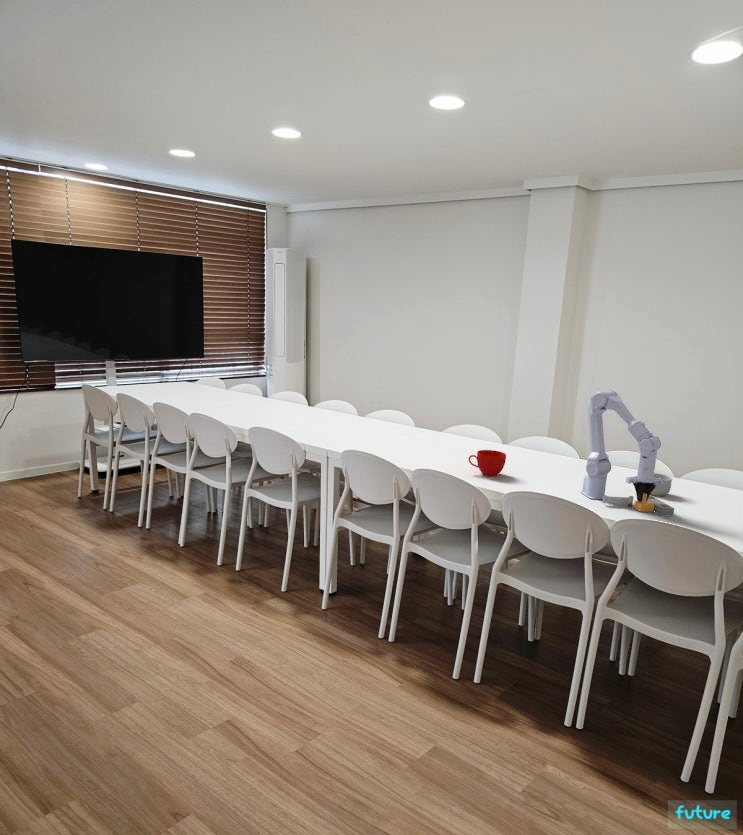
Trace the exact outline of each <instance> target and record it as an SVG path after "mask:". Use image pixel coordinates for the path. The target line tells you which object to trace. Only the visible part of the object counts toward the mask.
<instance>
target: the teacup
mask: <svg viewBox="0 0 743 835" xmlns="http://www.w3.org/2000/svg"><path fill="white" fill-rule="evenodd" d="M654 477H655V478H662V479H664V481H663V484H660V483H654V485H656V487H655V489H654V490H653V491H652V492H651V494H650V495H651V496H654V495H655V497H664V496H666V495H668V494H669V493H670V491H671V488H672V480H673V477H671V476H669V475H667V474H664V473H659V472H658V473H656V472H654Z"/></svg>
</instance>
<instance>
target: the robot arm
mask: <svg viewBox="0 0 743 835" xmlns="http://www.w3.org/2000/svg"><path fill="white" fill-rule="evenodd" d="M607 410H611V411H615V413H616V414H617V415H618V416H619V417H620V418H621V419H622V421H624V422H625V423H626V424H627V430H628V432H629V433H630V434H631V436H632V437H634V439H635V440H636V442H638V448H639V451H640V453H639V454H640V455H639V462H638V467H637V468H638V470H637V476H631V477H630V476H629V477H625V478H626V479H625V483H626V484H628V485H629V484H633V487H634V489H635V493H636V494H635V495H636V501H639V502H642V498H643V493H644V492H645V493H646V494H647V499H646V502H647V500H648V498H649V496H650V495H651V492H652V491H653V490H654V489H655V487H656V485H654V483H660V484H663V481H664V479H662V478H655V477H654V473H655V469H656V463H657V455H658V454H657V453H658V450H659V449H660V448H661V445H662V442H661V440H660V438H659V437H658V436H656V435H654V433H653V432H651V431H650V430H649V429H648V428H647V427H646V424H645V422H644V421H641V420H637V419H635V417H634V416H633V414H632V412H630V410H629V409H628V407H627V406H626V404H624V402H623V400H622V397H621V396H619V394H618V393H617V392H616V391H615V390H605V391H604V390H603V391H601V390H600V391H598V390H597V391H596V392H595V393H593V394H592V395H591V396H590V403H589V406H588V408H587V416H588V417H587V418H588V431H589V444H590V447H589V448H590V454H589V455H588V457H587V459H586V460H587V463H586V465H585V471H586V474H585V476H584V477H583V483H582V490H580V491H579V492H580V493H581V494H583V495H584V496H586V497H587V498H588V499H590V500H603V496H606V486H607V478H608V474H609V473H610V472H611V471H612V464H611V462H610V459H609V455H608V453H606V449H605V438H604V437H605V435H604V422H603V414H604V413H605V412H606V411H607Z"/></svg>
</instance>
